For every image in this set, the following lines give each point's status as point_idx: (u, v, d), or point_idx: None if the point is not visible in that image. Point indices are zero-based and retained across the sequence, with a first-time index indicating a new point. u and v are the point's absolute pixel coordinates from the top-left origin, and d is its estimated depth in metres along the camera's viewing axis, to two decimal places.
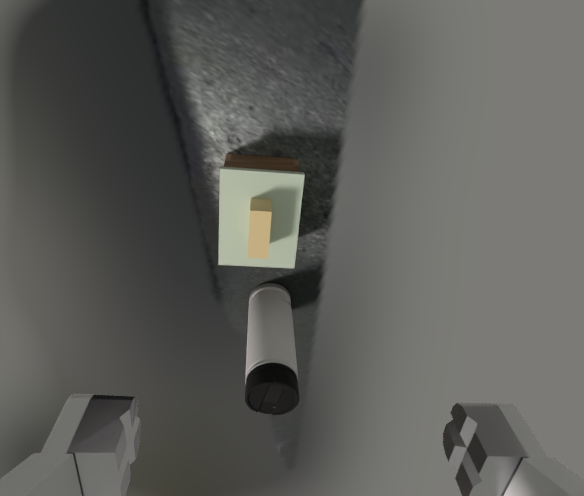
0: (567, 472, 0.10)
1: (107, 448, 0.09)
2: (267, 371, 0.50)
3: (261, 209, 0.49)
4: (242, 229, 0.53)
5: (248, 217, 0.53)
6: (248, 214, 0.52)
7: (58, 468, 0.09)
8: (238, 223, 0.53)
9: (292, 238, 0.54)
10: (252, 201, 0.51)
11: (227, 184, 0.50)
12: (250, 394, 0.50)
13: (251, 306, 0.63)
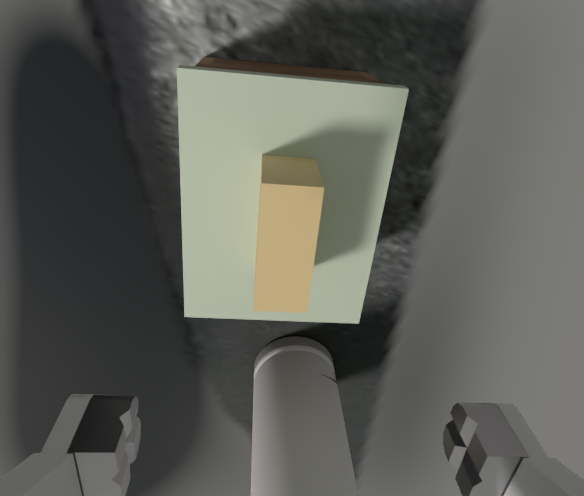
0: (567, 472, 0.10)
1: (107, 448, 0.09)
2: None
3: (294, 180, 0.17)
4: (240, 235, 0.22)
5: (255, 205, 0.21)
6: (255, 198, 0.21)
7: (58, 468, 0.09)
8: (230, 220, 0.21)
9: (361, 257, 0.23)
10: (267, 161, 0.19)
11: (199, 115, 0.19)
12: None
13: (259, 387, 0.31)
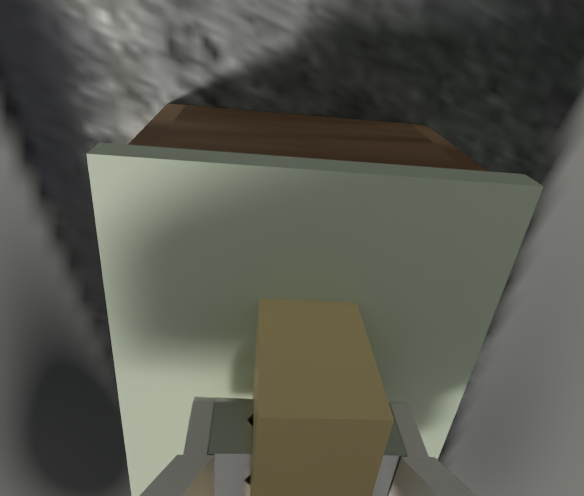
0: (443, 471, 0.09)
1: (244, 449, 0.09)
2: None
3: (327, 392, 0.08)
4: None
5: (248, 375, 0.12)
6: (248, 364, 0.12)
7: (204, 469, 0.09)
8: None
9: (425, 440, 0.14)
10: (269, 324, 0.10)
11: (138, 237, 0.10)
12: None
13: None
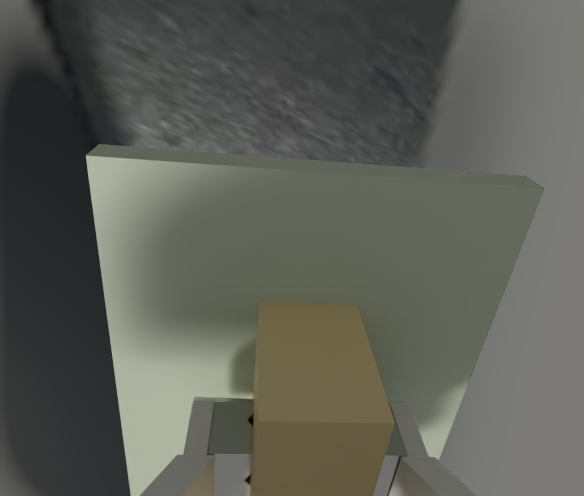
0: (443, 471, 0.09)
1: (244, 449, 0.09)
2: None
3: (327, 396, 0.08)
4: None
5: (248, 377, 0.12)
6: (248, 366, 0.12)
7: (204, 469, 0.09)
8: None
9: (425, 441, 0.13)
10: (269, 326, 0.10)
11: (138, 239, 0.10)
12: None
13: None
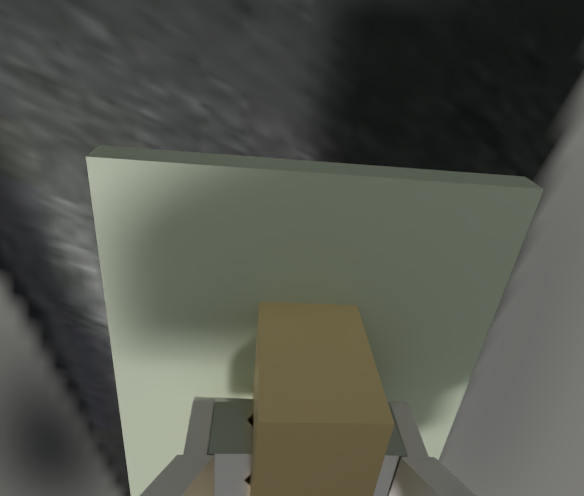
0: (443, 471, 0.09)
1: (244, 449, 0.09)
2: None
3: (327, 397, 0.08)
4: None
5: (248, 377, 0.12)
6: (248, 366, 0.12)
7: (204, 469, 0.09)
8: None
9: (425, 442, 0.13)
10: (269, 327, 0.10)
11: (138, 240, 0.10)
12: None
13: None
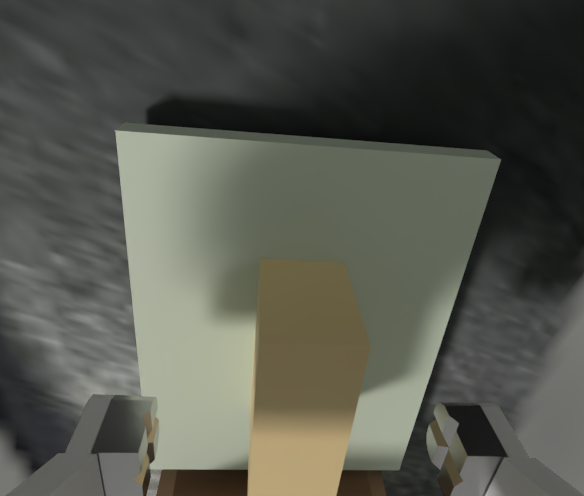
0: (547, 472, 0.09)
1: (130, 448, 0.09)
2: None
3: (316, 327, 0.10)
4: (228, 368, 0.14)
5: (250, 329, 0.14)
6: (250, 318, 0.13)
7: (83, 468, 0.09)
8: (212, 349, 0.14)
9: (407, 391, 0.15)
10: (268, 277, 0.12)
11: (157, 203, 0.11)
12: None
13: None
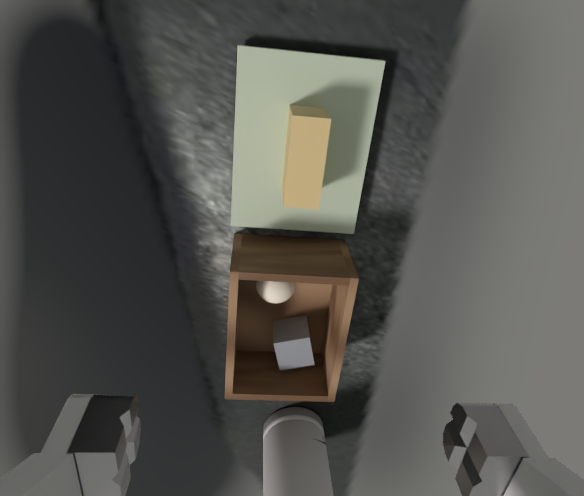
0: (567, 472, 0.10)
1: (107, 448, 0.09)
2: None
3: (312, 115, 0.27)
4: (272, 163, 0.32)
5: (283, 141, 0.31)
6: (284, 135, 0.31)
7: (58, 468, 0.09)
8: (266, 152, 0.31)
9: (355, 181, 0.33)
10: (293, 107, 0.29)
11: (250, 77, 0.29)
12: None
13: (267, 448, 0.42)
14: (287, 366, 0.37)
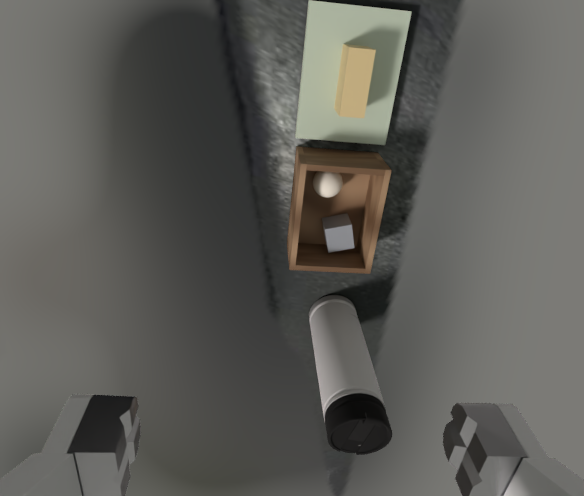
0: (567, 472, 0.10)
1: (107, 448, 0.09)
2: (355, 404, 0.42)
3: (362, 48, 0.39)
4: (328, 88, 0.44)
5: (337, 71, 0.43)
6: (338, 67, 0.43)
7: (58, 468, 0.09)
8: (324, 80, 0.43)
9: (387, 103, 0.45)
10: (346, 45, 0.41)
11: (316, 23, 0.41)
12: (334, 431, 0.42)
13: (315, 321, 0.55)
14: (334, 249, 0.50)
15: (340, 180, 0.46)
